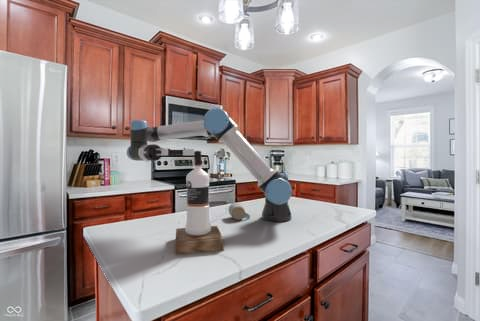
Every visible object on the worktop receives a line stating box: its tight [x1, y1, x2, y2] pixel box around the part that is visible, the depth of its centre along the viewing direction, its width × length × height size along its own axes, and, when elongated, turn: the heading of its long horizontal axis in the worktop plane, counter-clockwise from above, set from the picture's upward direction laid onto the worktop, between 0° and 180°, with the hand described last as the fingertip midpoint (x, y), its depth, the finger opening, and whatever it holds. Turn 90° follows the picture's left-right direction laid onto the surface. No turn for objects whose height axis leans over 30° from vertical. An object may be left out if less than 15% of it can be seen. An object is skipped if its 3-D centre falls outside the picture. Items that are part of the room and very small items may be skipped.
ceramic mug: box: [228, 202, 251, 221], centre depth 126 cm, size 11×8×8 cm
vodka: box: [184, 150, 212, 236], centre depth 89 cm, size 9×9×30 cm
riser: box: [174, 225, 225, 256], centre depth 90 cm, size 16×16×4 cm
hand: (181, 152), depth 101 cm, fingers open, 13 cm apart
